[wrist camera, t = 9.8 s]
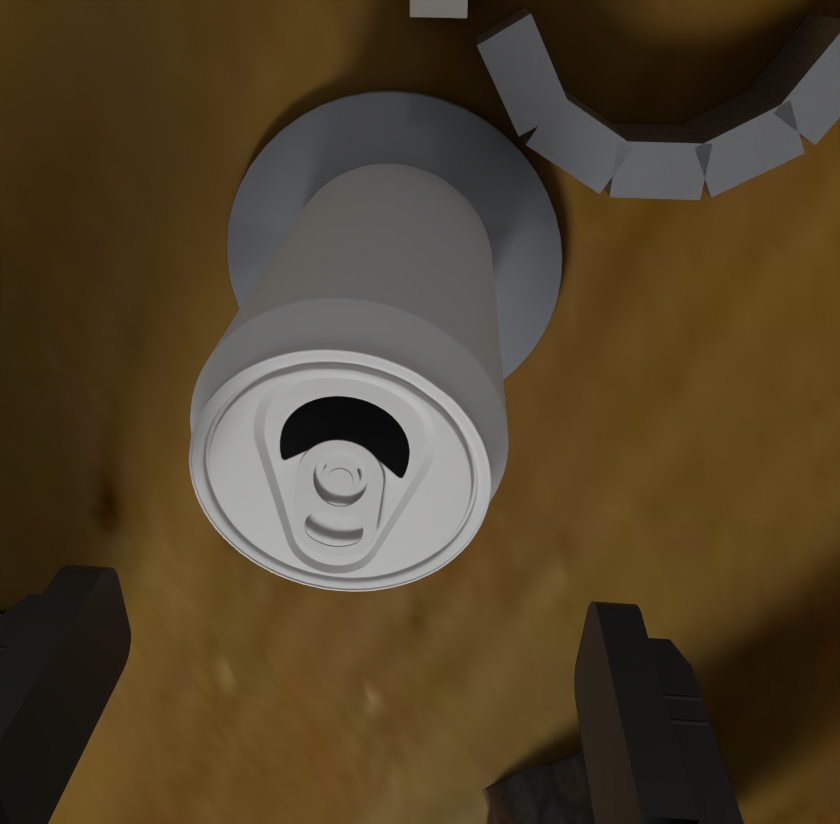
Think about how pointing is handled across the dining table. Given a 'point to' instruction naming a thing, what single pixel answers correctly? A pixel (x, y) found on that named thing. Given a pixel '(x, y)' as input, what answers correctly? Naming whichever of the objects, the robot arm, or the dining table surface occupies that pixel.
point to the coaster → (422, 148)
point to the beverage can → (359, 390)
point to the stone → (543, 795)
